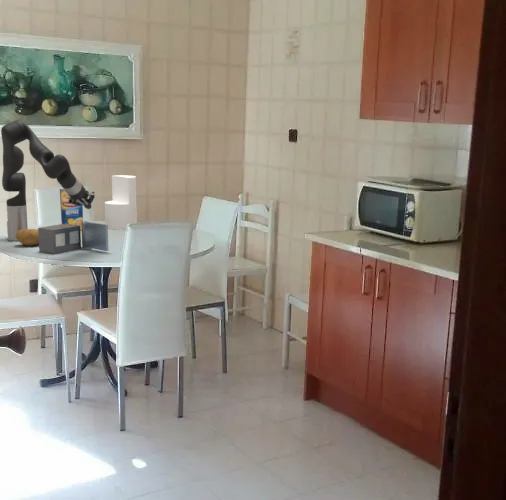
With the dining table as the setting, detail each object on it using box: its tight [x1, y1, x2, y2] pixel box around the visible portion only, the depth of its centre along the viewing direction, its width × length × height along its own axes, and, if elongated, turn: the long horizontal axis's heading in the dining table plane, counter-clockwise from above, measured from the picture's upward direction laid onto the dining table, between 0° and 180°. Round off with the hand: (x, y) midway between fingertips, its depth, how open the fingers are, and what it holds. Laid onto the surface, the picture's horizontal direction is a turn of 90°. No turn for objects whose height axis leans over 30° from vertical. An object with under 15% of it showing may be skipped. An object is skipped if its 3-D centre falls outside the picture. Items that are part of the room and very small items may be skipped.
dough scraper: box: [81, 220, 109, 252], centre depth 319 cm, size 16×2×12 cm, turn 55°
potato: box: [16, 228, 39, 247], centre depth 330 cm, size 10×14×8 cm
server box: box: [37, 223, 93, 255], centre depth 320 cm, size 20×14×11 cm
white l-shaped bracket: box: [104, 174, 138, 231], centre depth 381 cm, size 17×17×28 cm
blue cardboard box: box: [59, 188, 84, 232], centre depth 370 cm, size 7×11×22 cm, turn 110°
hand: (89, 207), depth 317 cm, fingers closed
